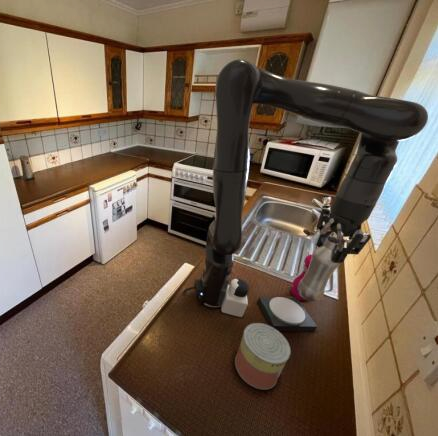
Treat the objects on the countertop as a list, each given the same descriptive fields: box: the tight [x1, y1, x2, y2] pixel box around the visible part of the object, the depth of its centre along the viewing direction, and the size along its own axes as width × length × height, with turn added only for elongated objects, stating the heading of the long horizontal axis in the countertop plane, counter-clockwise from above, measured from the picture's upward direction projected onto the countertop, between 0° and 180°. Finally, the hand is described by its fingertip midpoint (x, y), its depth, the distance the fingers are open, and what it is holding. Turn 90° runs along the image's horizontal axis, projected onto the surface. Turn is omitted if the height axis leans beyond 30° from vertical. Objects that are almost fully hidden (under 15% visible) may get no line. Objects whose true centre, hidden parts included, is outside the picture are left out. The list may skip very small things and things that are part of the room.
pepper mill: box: [290, 253, 313, 301], centre depth 87 cm, size 7×7×20 cm
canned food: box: [234, 322, 292, 391], centre depth 65 cm, size 11×11×12 cm
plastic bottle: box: [297, 235, 341, 302], centre depth 66 cm, size 6×7×20 cm
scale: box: [257, 296, 318, 332], centre depth 83 cm, size 14×12×3 cm
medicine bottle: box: [221, 278, 250, 318], centre depth 83 cm, size 7×7×12 cm
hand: (328, 254), depth 63 cm, fingers closed on plastic bottle, 6 cm apart
